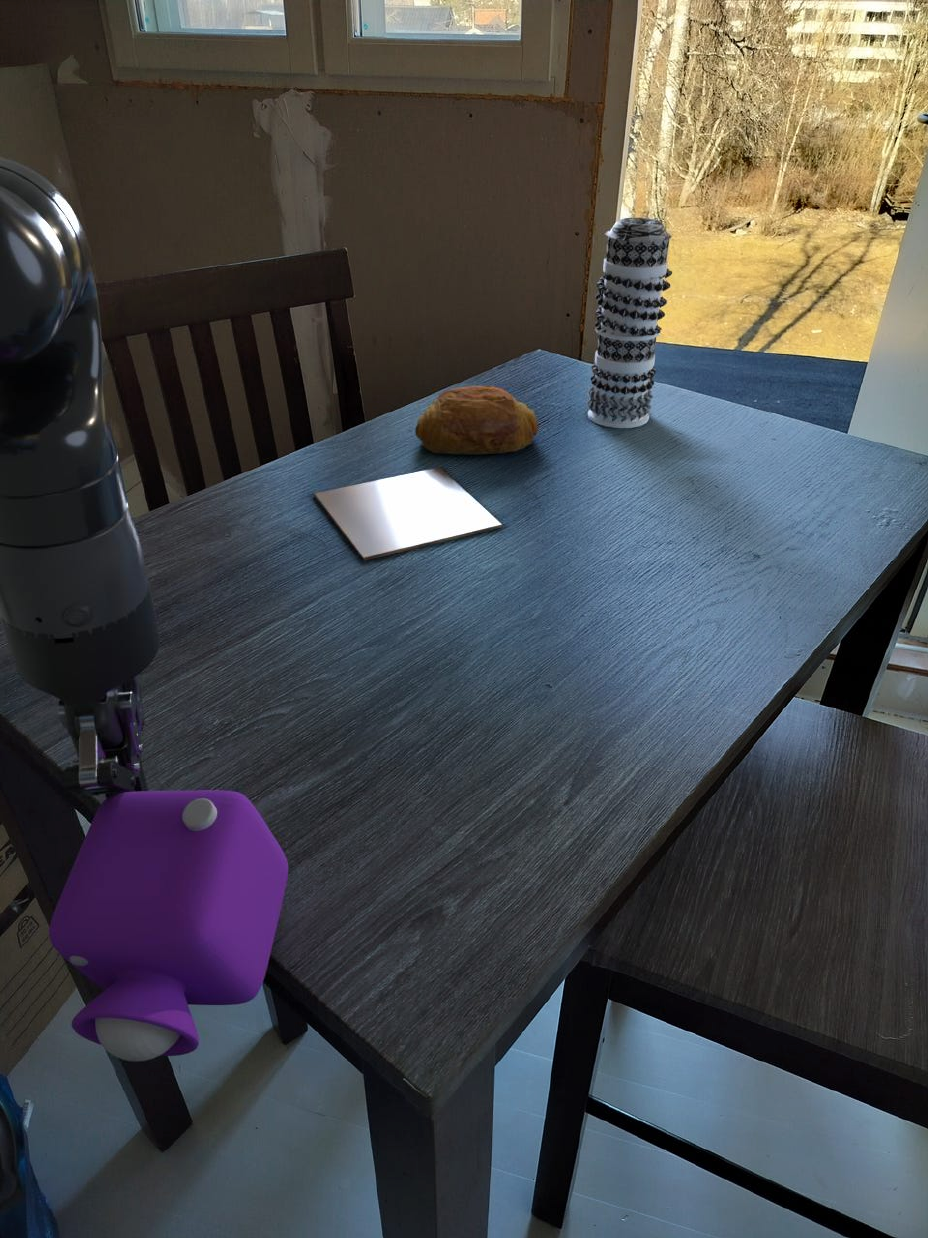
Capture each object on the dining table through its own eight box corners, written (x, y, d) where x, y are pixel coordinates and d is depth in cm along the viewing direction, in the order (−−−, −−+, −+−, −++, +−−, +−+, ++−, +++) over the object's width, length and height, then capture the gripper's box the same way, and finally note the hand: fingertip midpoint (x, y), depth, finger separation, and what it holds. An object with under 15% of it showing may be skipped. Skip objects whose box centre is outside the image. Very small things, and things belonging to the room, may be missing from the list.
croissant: (534, 478, 107) (547, 418, 102) (411, 461, 106) (418, 400, 101) (528, 429, 119) (539, 374, 114) (417, 414, 117) (423, 357, 112)
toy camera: (95, 1100, 46) (-6, 1039, 39) (136, 869, 56) (60, 787, 48) (290, 1066, 46) (223, 999, 39) (296, 840, 55) (244, 752, 48)
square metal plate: (363, 561, 86) (363, 557, 86) (314, 496, 98) (314, 493, 98) (502, 527, 92) (502, 524, 92) (439, 470, 104) (439, 466, 104)
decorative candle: (662, 426, 115) (691, 226, 101) (598, 431, 114) (618, 229, 99) (637, 402, 123) (661, 212, 108) (576, 406, 121) (592, 215, 107)
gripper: (23, 528, 50) (85, 742, 60) (-38, 671, 39) (50, 901, 49) (158, 521, 51) (196, 732, 61) (133, 658, 41) (184, 884, 51)
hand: (130, 807), depth 55 cm, fingers closed
